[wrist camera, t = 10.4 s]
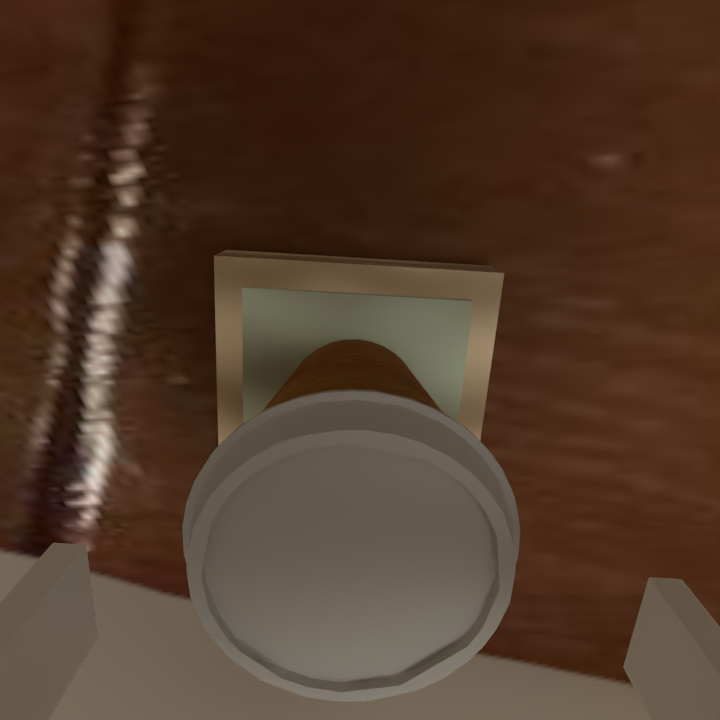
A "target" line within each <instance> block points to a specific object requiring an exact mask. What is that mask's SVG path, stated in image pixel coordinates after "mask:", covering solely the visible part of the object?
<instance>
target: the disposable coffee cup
mask: <svg viewBox="0 0 720 720" xmlns="http://www.w3.org/2000/svg"><path fill="white" fill-rule="evenodd" d="M182 530H183V547H184V556H185V560H186V563H187V577H188V583H189V590H190V597H191V599H192V602H193V604H194V606H195V608H196V611H197V613H198V615H199V617H200V620H201V622H202V624H203V626H204V628H205V630H206V631H207V632H208V633H209V634H210V636H211V637H212V638H213V639H214V641H216V643H217V644H218V645H219V647H220V648H221V649H222V650H223V652H224V653H225V654H226V655H227V656H228V657H229V658H230V659H231V660H233V661H234V662H236V663H237V664H239V665H240V666H242V667H243V668H245V669H246V670H247V671H249V672H250V673H252V674H253V675H255V676H256V677H258V678H259V679H260V680H262V681H263V682H266V683H269V684H272V685H274V686H277V687H279V688H282V689H285V690H287V691H290V692H293V693H295V694H298V695H301V696H303V697H310V698H317V699H324V700H331V701H338V702H346V701H347V702H348V701H349V702H350V701H371V700H376V699H380V698H385V697H390V696H395V695H399V694H404V693H409V692H413V691H416V690H419V689H421V688H423V687H425V686H427V685H430V684H432V683H434V682H436V681H438V680H441V679H443V678H444V677H446V676H447V675H449V674H450V673H452V672H453V671H455V670H456V669H458V668H459V667H461V666H462V665H463V664H465V663H467V662H468V661H469V660H470V659H471V658H472V657H473V656H474V655H475V654H476V653H477V652H478V651H479V650H480V649H481V648H482V647H483V646H484V645H485V644H486V642H487V641H488V640H489V638H490V637H491V636H492V634H493V633H494V632H495V630H496V629H497V627H498V625H499V623H500V621H501V619H502V617H503V615H504V613H505V611H506V609H507V607H508V605H509V603H510V599H511V593H512V588H513V582H514V577H515V571H516V568H515V565H516V562H517V558H518V551H519V539H520V524H519V518H518V512H517V507H516V501H515V496H514V494H513V492H512V490H511V487H510V485H509V483H508V481H507V478H506V476H505V474H504V472H503V470H502V468H501V467H500V465H499V464H498V462H497V461H496V459H495V458H494V456H493V455H492V454H491V453H490V452H489V450H488V449H487V448H486V447H485V446H484V445H483V444H482V443H481V442H480V441H479V440H478V439H477V438H476V437H475V436H474V435H473V434H472V433H471V432H470V431H469V430H468V429H467V428H466V427H464V426H463V425H461V424H460V423H458V422H456V421H455V420H453V419H452V418H450V417H449V416H447V415H446V414H444V413H443V412H442V410H441V409H440V408H439V407H438V405H437V404H436V403H435V402H434V400H433V399H432V398H431V396H430V395H429V394H428V393H427V391H426V390H425V389H424V388H423V386H422V385H421V384H420V382H419V381H418V380H417V379H416V377H415V376H414V375H413V373H412V372H411V371H410V369H409V368H408V367H407V365H406V364H405V363H404V361H403V360H402V359H401V358H399V357H398V356H397V355H396V354H395V353H394V352H392V351H390V350H389V349H387V348H386V347H384V346H381V345H379V344H376V343H374V342H370V341H365V340H359V339H357V340H341V341H336V342H332V343H329V344H327V345H325V346H323V347H320V348H318V349H317V350H315V351H314V352H312V353H311V354H310V355H308V356H307V357H306V358H305V359H304V360H303V361H302V362H301V363H300V364H299V366H298V367H297V369H296V370H295V371H294V372H293V374H292V375H291V376H290V377H289V379H288V380H287V381H286V382H285V384H284V385H283V386H282V387H281V388H280V389H279V391H278V392H277V393H276V395H275V396H274V397H273V398H272V400H271V401H270V402H269V403H268V404H267V406H266V407H265V408H264V410H263V411H262V412H261V413H259V414H258V415H256V416H254V417H253V418H251V419H250V420H248V421H246V422H245V423H243V424H242V425H240V426H239V427H238V428H237V429H236V430H235V431H234V432H232V433H231V434H230V435H229V436H228V437H227V438H226V439H225V440H224V441H223V442H222V443H221V444H220V445H219V446H218V447H217V448H216V449H215V450H214V451H213V453H212V454H211V455H210V457H209V459H208V460H207V462H206V463H205V465H204V466H203V468H202V470H201V471H200V473H199V474H198V476H197V478H196V479H195V481H194V484H193V486H192V489H191V492H190V495H189V497H188V500H187V503H186V509H185V515H184V521H183V527H182Z"/></svg>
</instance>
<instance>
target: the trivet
mask: <svg viewBox="0 0 720 720" xmlns="http://www.w3.org/2000/svg"><path fill="white" fill-rule="evenodd" d="M503 279H504V273H503V272H501V271H499V270H498V269H496V268H494V267H492V266H487V265H470V264H454V263H437V262H420V261H404V260H387V259H371V258H354V257H338V256H321V255H304V254H288V253H271V252H255V251H238V250H225V251H223V252H221V253H219V254H216V255H214V283H215V325H216V367H217V409H218V446H219V445H220V444H221V443H222V442H223V441H224V440H225V439H226V438H227V437H228V436H229V435H230V434H231V433H232V432H234V431H235V430H236V429H237V428H238V427H239V426H240V425H242V424H243V423H245V422H246V421H248V420H250V419H251V418H253V417H254V416H256V415H258V414H259V413H261V412H262V411H263V410H264V408H265V407H266V406H267V404H268V403H269V402H270V401H271V400H272V398H273V397H274V396H275V395H276V393H277V392H278V391H279V389H280V388H281V387H282V386H283V385H284V384H285V382H286V381H287V380H288V379H289V377H290V376H291V375H292V374H293V372H294V371H295V370H296V369H297V367H298V366H299V364H300V363H301V362H302V361H303V360H304V359H305V358H306V357H307V356H308V355H310V354H311V353H312V352H314V351H315V350H317V349H318V348H320V347H323V346H325V345H327V344H329V343H332V342H336V341H341V340H357V339H359V340H365V341H370V342H374V343H376V344H379V345H381V346H384V347H386V348H387V349H389V350H390V351H392V352H394V353H395V354H396V355H397V356H398V357H399V358H401V359H402V360H403V361H404V363H405V364H406V365H407V367H408V368H409V369H410V371H411V372H412V373H413V375H414V376H415V377H416V379H417V380H418V381H419V382H420V384H421V385H422V386H423V388H424V389H425V390H426V391H427V393H428V394H429V395H430V396H431V398H432V399H433V400H434V402H435V403H436V404H437V405H438V407H439V408H440V409H441V410H442V412H443V413H444V414H446V415H447V416H449V417H450V418H452V419H453V420H455V421H456V422H458V423H460V424H461V425H463V426H464V427H466V428H467V429H468V430H469V431H470V432H471V433H472V434H473V435H474V436H475V437H476V438H477V439H478V440H479V441H480V438H481V432H482V425H483V418H484V411H485V404H486V397H487V390H488V383H489V376H490V369H491V362H492V355H493V348H494V341H495V334H496V327H497V320H498V313H499V306H500V299H501V292H502V285H503Z"/></svg>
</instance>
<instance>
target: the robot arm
mask: <svg viewBox="0 0 720 720" xmlns="http://www.w3.org/2000/svg"><path fill="white" fill-rule="evenodd" d="M97 638H98V636H97V629H96V620H95V612H94V604H93V596H92V587H91V579H90V571H89V563H88V555H87V547H86V545H82V544H65V543H52V545H51V546H50V547H49V548H48V549H47V550H46V551H45V553H44V554H43V555H42V556H41V557H40V558H39V559H38V561H37V562H36V563H35V564H34V565H33V566H32V567H31V569H30V570H29V571H28V572H27V573H26V574H25V575H24V576H23V578H22V579H21V580H20V581H19V582H18V583H17V584H16V585H15V587H14V588H13V589H12V590H11V591H10V592H9V593H8V595H7V596H6V597H5V598H4V599H3V600H2V601H1V603H0V720H49V719H50V717H51V715H52V714H53V712H54V710H55V708H56V707H57V705H58V703H59V702H60V700H61V698H62V697H63V695H64V693H65V692H66V690H67V688H68V687H69V685H70V683H71V682H72V680H73V678H74V677H75V675H76V673H77V671H78V670H79V668H80V667H81V665H82V663H83V662H84V660H85V658H86V657H87V655H88V653H89V651H90V650H91V648H92V646H93V645H94V643H95V641H96V639H97ZM623 668H624V670H625V672H626V673H627V675H628V677H629V679H630V681H631V683H632V685H633V686H634V688H635V690H636V692H637V694H638V696H639V698H640V700H641V701H642V703H643V705H644V707H645V709H646V710H647V713H648V714H649V716H650V718H651V720H720V626H719V625H718V624H717V623H716V621H715V620H714V619H713V618H712V616H711V615H710V614H709V613H708V611H707V610H706V609H705V608H704V607H703V605H702V604H701V603H700V602H699V600H698V599H697V598H696V597H695V595H694V594H693V593H692V592H691V590H690V589H689V588H688V587H687V585H686V584H685V583H684V582H683V580H682V579H670V578H653V577H649V579H648V582H647V586H646V589H645V593H644V596H643V600H642V603H641V607H640V610H639V614H638V617H637V621H636V624H635V628H634V631H633V635H632V638H631V642H630V645H629V649H628V652H627V656H626V660H625V663H624V667H623Z"/></svg>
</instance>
